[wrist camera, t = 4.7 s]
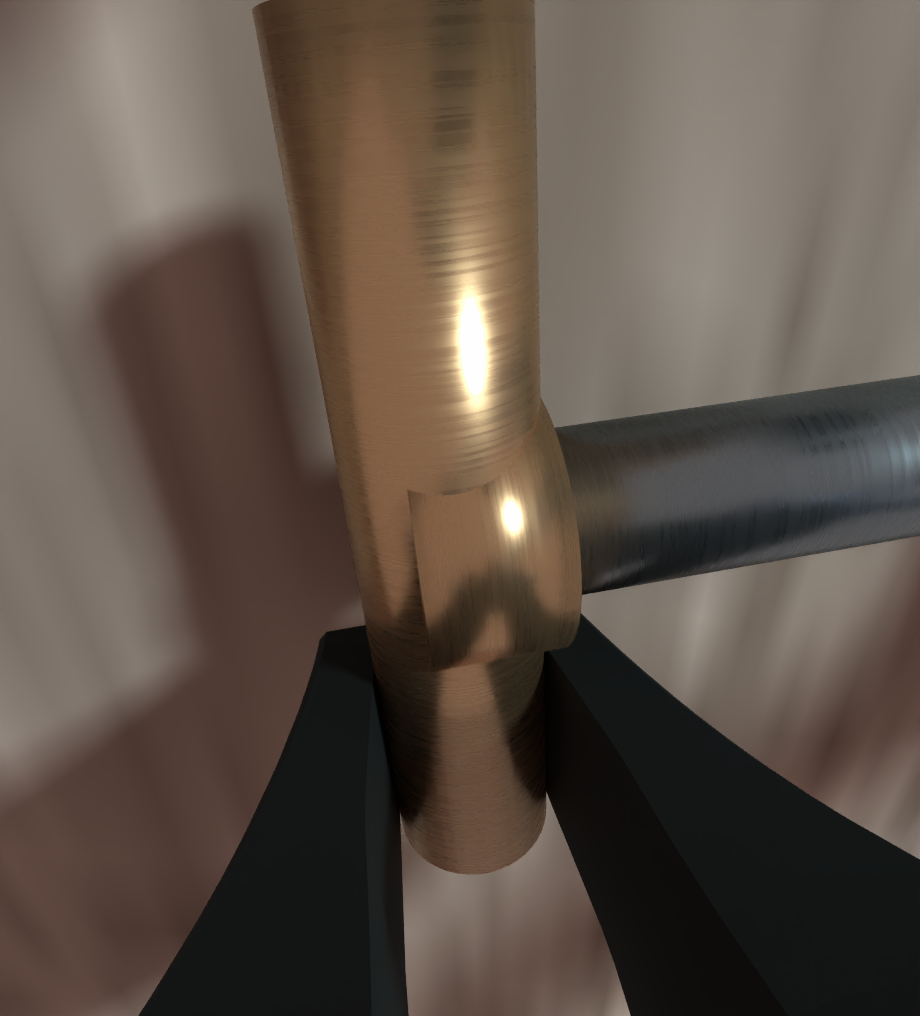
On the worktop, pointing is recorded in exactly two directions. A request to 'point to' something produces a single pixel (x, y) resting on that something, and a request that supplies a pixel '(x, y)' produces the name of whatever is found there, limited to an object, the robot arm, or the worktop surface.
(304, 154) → the t-handle rod
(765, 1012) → the robot arm
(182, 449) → the worktop surface
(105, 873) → the worktop surface
